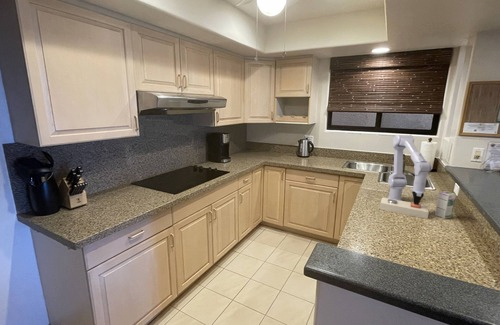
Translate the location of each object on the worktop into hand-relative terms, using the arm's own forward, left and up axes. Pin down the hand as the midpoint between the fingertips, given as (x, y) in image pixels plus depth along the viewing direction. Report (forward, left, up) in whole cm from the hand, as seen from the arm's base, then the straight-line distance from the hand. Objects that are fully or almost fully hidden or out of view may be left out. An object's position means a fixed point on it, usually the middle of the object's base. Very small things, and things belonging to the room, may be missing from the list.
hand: (415, 204), depth 145 cm
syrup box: (-4, +14, -6) cm, 16 cm away
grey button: (0, -12, -5) cm, 13 cm away
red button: (0, 0, -5) cm, 5 cm away
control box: (0, -6, -5) cm, 8 cm away
